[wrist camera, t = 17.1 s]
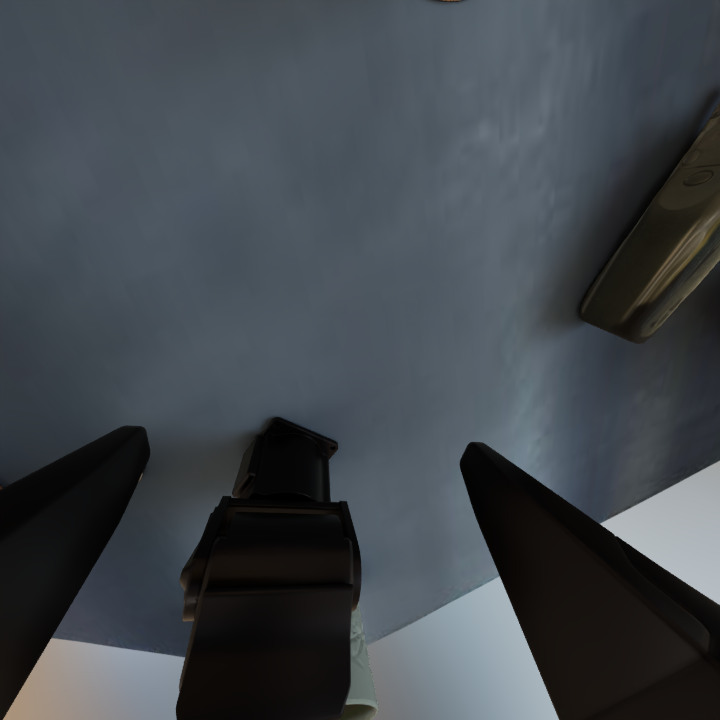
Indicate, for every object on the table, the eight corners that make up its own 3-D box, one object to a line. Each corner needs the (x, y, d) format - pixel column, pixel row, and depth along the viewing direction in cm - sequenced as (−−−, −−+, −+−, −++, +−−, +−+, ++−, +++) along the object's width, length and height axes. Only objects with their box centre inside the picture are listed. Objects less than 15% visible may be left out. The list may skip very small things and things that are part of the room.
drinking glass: (278, 598, 37) (263, 749, 27) (290, 556, 33) (278, 716, 22) (350, 595, 40) (362, 732, 29) (370, 556, 35) (392, 700, 25)
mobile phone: (654, 350, 19) (905, 59, 12) (623, 342, 18) (872, 28, 11) (592, 323, 23) (752, 97, 16) (565, 316, 22) (721, 77, 16)
